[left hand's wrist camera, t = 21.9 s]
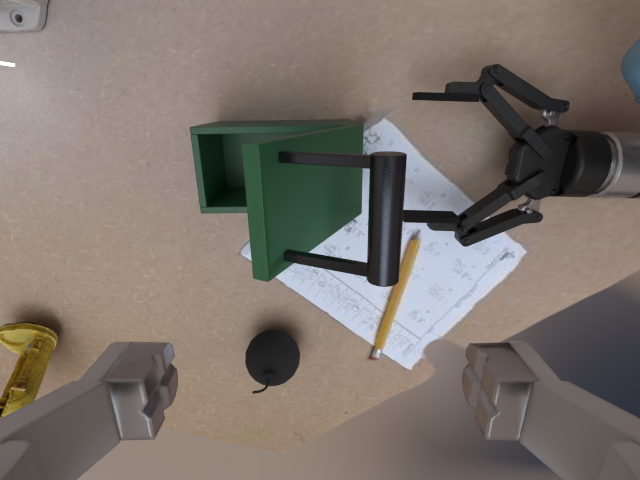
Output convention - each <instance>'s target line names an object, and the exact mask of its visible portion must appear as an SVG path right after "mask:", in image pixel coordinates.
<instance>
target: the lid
mask: <svg viewBox="0 0 640 480" xmlns="http://www.w3.org/2000/svg"><path fill="white" fill-rule="evenodd" d="M242 153H243V164H244V176H245V188H246V199H247V211H248V222H249V234H250V246H251V257H252V269H253V278H254V279H258V280H262V281H267V282H269V281H270V280H271V279H273V278H274V277H276V276H277V275H278V274H280V273H281V272H282V271H284V270H285V269H286V268H288V267H289V266H290V265H292V264H293V263H297V264H302V265H308V266H313V267H318V268H324V269H329V270H334V271H339V272H345V273H350V274H355V275H360V276H366V277H367V280H368V282H369V283H371V284H373V285H376V286H382V287H388V286H393V285H395V284H397V283H398V281H399V271H400V255H401V239H402V223H403V206H404V190H405V174H406V158H407V155H406V154H405V153H402V152H374V153H371V155H363V125H347V126H342V127H336V128H330V129H324V130H318V131H312V132H306V133H300V134H294V135H288V136H282V137H276V138H270V139H264V140H258V141H252V142H246V143H242ZM362 168H370V186H369V220H368V255H367V263H365V262H359V261H354V260H348V259H342V258H336V257H331V256H325V255H319V254H313V253H308V252H310V251H311V250H312V249H314V248H315V247H316V246H318V245H319V244H320V243H322V242H323V241H324V240H326V239H327V238H329V237H330V236H331V235H333V234H334V233H335V232H337V231H338V230H339V229H341V228H342V227H343V226H345V225H346V224H348V223H349V222H350V221H352V220H353V219H354V218H356V217H357V216H358V215H360V214H361V211H362Z"/></svg>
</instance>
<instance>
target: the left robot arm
mask: <svg viewBox="0 0 640 480" xmlns="http://www.w3.org/2000/svg"><path fill="white" fill-rule="evenodd" d="M48 1H49V0H0V33H6V32H36V31H40V30H41V29H42V28H43V27H44V24H45V20H46V12H47V4H48ZM20 16H22V18H23V21H22V22H20V19H19V18H20ZM0 65H6V66H14V67H15V64H13V63H7V62H0ZM174 356H175V355H174V350H173V345H171V344H170V343H165V342H114V343H111V344H110V345H109V347H108V348H107V349H106V350H105V351H104V352H103V354H102V355H101V356H100V357H99V358H98V359H97V360H96V362H95V363H94V364H93V365H92V366H91V367H90V369H89V370H88V371H87V372H86V373H85V374H84V375H83V377H82V378H81V379H80V380H79V381H72V382H70V383H68V384H66V385H64V386H62V387H61V388H59V389H57V390H55V391H53V392H51V393H49V394H47V395H45V396H43V397H41V398H39V399H37V400H35V401H33V402H31V403H30V404H28V405H26V406H24V407H22V408H20V409H18V410H16V411H14V412H12V413H10V414H8V415H6V416H4V417H2V418H1V419H0V480H77V479H78V478H79V477H80V476H81V475H83V474H84V473H85V472H86V471H87V470H88V469H90V468H91V467H92V466H93V465H94V464H95V463H97V462H98V461H99V460H100V459H101V458H102V457H104V456H105V455H106V454H107V453H108V452H109V451H111V450H112V449H113V448H114V447H115V446H116V445H118V444H119V443H120V440H151V439H155V437H156V435H157V433H158V431H159V429H160V427H161V425H162V423H163V421H164V419H165V416H164V410H165V409H167V408H168V407H169V406H171V405H172V403H173V400H174V398H175V395H176V391H177V386H178V374H177V369H176V368H175V367H174V366H173V365H172V364H171V361H172V359H173V358H174ZM466 358H467V359H468V361H469V364H468V365H467V366H466V367H465V368H464V369H463V376H462V385H463V392H464V395H465V398H466V400H467V403H468V405H469V406H471V407H472V408H473V409H475V410H476V416H475V419H476V421H477V423H478V425H479V427H480V429H481V431H482V433H483V435H484V437H485V439H488V440H520V443H521V444H523V445H524V446H525V447H526V448H527V449H528V450H530V451H531V452H532V453H533V454H534V455H535V456H537V457H538V458H539V459H540V460H541V461H542V462H544V463H545V464H546V465H547V466H548V467H549V468H551V469H552V470H553V471H554V472H555V473H556V474H558V475H559V476H560V477H561V478H562V479H563V480H640V419H639V418H637V417H635V416H633V415H632V414H630V413H628V412H626V411H624V410H622V409H620V408H618V407H616V406H614V405H612V404H610V403H608V402H606V401H605V400H603V399H601V398H599V397H597V396H595V395H593V394H591V393H589V392H587V391H585V390H583V389H581V388H579V387H577V386H576V385H574V384H572V383H570V382H568V381H561V380H560V379H559V378H558V377H557V375H556V374H555V373H554V372H553V371H552V370H551V369H550V367H549V366H548V365H547V364H546V363H545V362H544V360H543V359H542V358H541V357H540V356H539V355H538V354H537V352H536V351H535V350H534V349H533V348H532V347H531V346H530V344H528V343H526V342H506V343H469V344H468V346H467V349H466Z"/></svg>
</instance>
